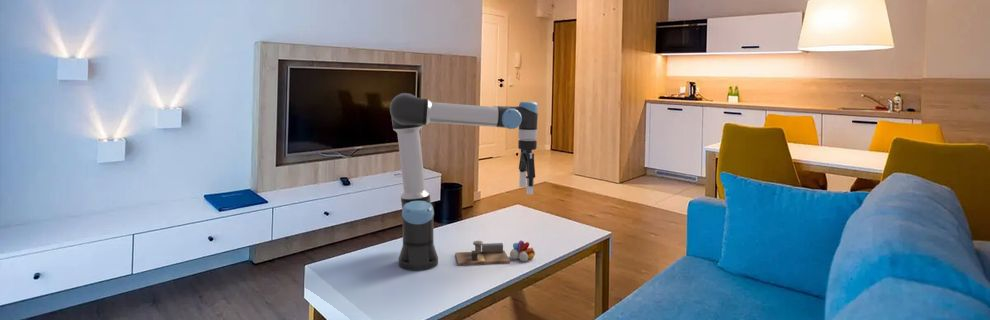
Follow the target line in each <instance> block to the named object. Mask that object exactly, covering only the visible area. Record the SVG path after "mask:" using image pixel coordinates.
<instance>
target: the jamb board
mask: <svg viewBox="0 0 990 320" xmlns="http://www.w3.org/2000/svg"><path fill="white" fill-rule="evenodd" d="M483 244H484V241H482V240H475V241H473V242H472V245H473V246H474V249H475V250H471V251H463V252H455V258H456V261H457V266H459V267H460V266H481V265H482V266H483V265H497V264H498V265H499V264H510V263H511V260H510V258H509V256H508V255H507V253H506V251H505V250H503V252H490V253H482V245H483Z"/></svg>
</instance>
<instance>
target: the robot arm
mask: <svg viewBox="0 0 990 320" xmlns="http://www.w3.org/2000/svg"><path fill="white" fill-rule="evenodd" d="M538 109H539V108H538V103H537V102H536V101H520V102H519V104H518V106H507V105H506V106H503V105H502V106H501V105H497V106H496V105H495V106H485V105H484V106H483V105H472V104H461V103H448V102H436V101H434V102H433V101H431V100H430V99H429V98H428V99H427V98H421V97H417V96H416V95H414V94H412V93H410V92H408V93H407V92H402V93H399V94H397V95H396V96H394V97H393V99H392V100H391V102H390V105H389V113H390V115H391V116H390V117H391V122H392V123H391V124H392V130H393V131H394V132H396V134H397V141H398V151H399V159H400V167H401V169H400V170H401V176H402V185H403V193H402V194H401V195H400V202H401V210H402V211H401V216H402V217H401V218H402V219H401V220H402V222H401V223H402V247H401V250H400V253H399V256H398V260H397V261H398V266H399V267H400V268H401V269H403V270H408V271H426V270H430V269H433V268H435V267H437V266H438V265H439V256H438V253H437V250H436V247H435V244H434V215H435V211H434V207H433V205H432V202H431V194H430V192H429V191H428V190H427V189H426V182H425V171H424V164H423V154H422V153H423V151H422V143H421V135H420V134H421V133H420V131H421V129H422V128H423V126H424V125H425V126H427V125H428V124H430V123H431V124H433V123H434V124H447V125H448V124H449V125H459V126H460V125H462V126H476V127H491V128H504V129H505V128H506V129H508V130H515V129H517V128H518V139H519V140H518V143H517V145H518V147H517V148H518V149H519V150H520V158H519V164H518V170H519V183H518V184H519V188H525V189H526V195H534V187H535V185H534V183H535V182H534V180H535V179H534V178H536V170H535V169H536V168H535V153H533V151H534V150H535V151H536V149H537V143H538V141H537V139H538V134H539V131H538V117H539V110H538Z"/></svg>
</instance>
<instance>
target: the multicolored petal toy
mask: <svg viewBox="0 0 990 320" xmlns="http://www.w3.org/2000/svg"><path fill="white" fill-rule="evenodd" d="M529 246H530V242H529V241H527V242H524V240H519V241H518V242H514V243H512V247H513V249H511V251H510V253H509V256H510V258H511V259H512V260H514V261H515V260H518V259H519V261H521V262H527V261H528V260H530V259H531V260H532V259H533V258H534V257H535V255H536V251H535V249H534V247H529Z"/></svg>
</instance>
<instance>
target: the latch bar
mask: <svg viewBox="0 0 990 320" xmlns="http://www.w3.org/2000/svg"><path fill="white" fill-rule="evenodd" d="M481 251H482V253H490V252H503V251H504V244H503V242H494V243H493V242H490V243H483V245H481Z"/></svg>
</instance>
